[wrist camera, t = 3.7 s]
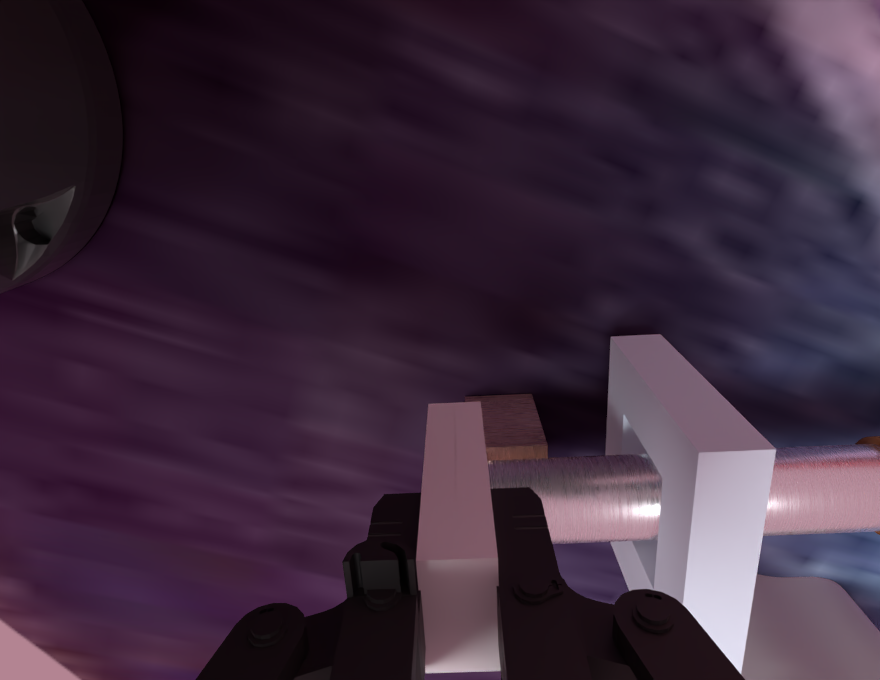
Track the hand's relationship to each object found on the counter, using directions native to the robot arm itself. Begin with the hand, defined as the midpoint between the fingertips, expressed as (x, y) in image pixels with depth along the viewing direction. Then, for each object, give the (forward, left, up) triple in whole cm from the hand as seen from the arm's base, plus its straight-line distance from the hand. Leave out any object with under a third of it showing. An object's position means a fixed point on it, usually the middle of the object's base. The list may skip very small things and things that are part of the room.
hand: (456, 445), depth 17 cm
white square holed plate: (+4, +7, -8) cm, 11 cm away
